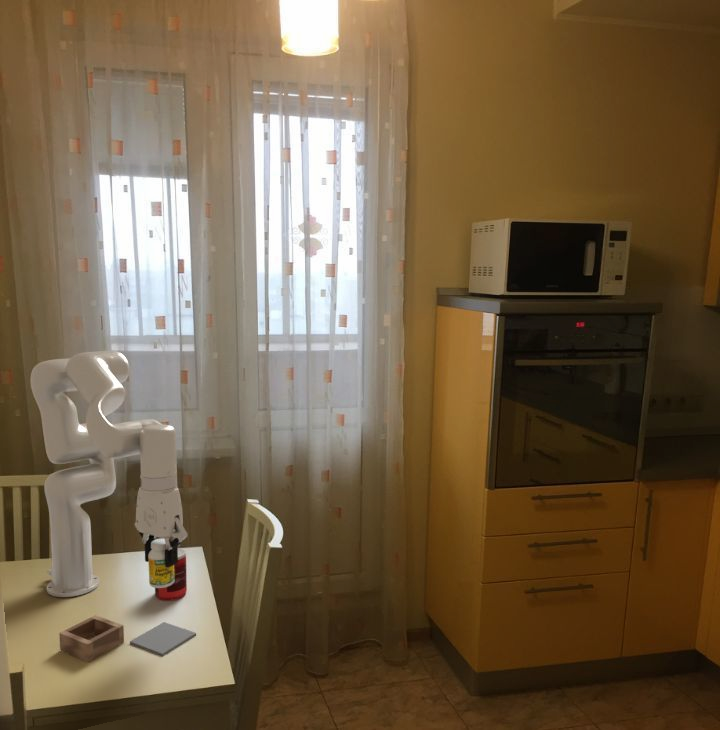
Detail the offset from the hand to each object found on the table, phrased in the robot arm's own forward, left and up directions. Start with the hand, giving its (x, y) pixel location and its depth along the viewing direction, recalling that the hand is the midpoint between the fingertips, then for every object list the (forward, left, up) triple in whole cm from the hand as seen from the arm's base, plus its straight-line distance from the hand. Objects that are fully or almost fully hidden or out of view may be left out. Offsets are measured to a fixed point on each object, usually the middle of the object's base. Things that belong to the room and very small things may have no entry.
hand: (161, 561), depth 145 cm
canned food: (-15, +17, -18) cm, 29 cm away
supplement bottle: (0, 0, -5) cm, 5 cm away
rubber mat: (0, 0, -18) cm, 18 cm away
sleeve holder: (-11, -10, -18) cm, 23 cm away
